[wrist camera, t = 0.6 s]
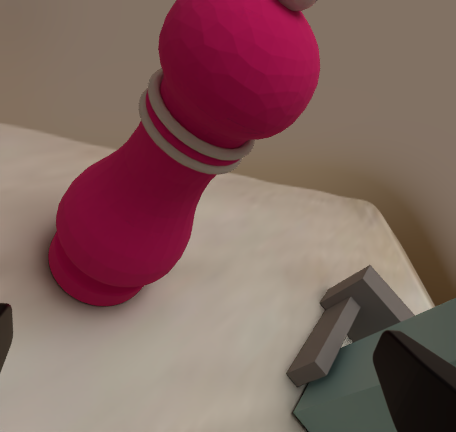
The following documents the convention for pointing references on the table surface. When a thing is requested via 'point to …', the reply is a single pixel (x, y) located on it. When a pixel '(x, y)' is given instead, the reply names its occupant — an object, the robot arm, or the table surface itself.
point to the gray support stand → (347, 322)
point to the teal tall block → (370, 377)
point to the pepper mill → (183, 141)
